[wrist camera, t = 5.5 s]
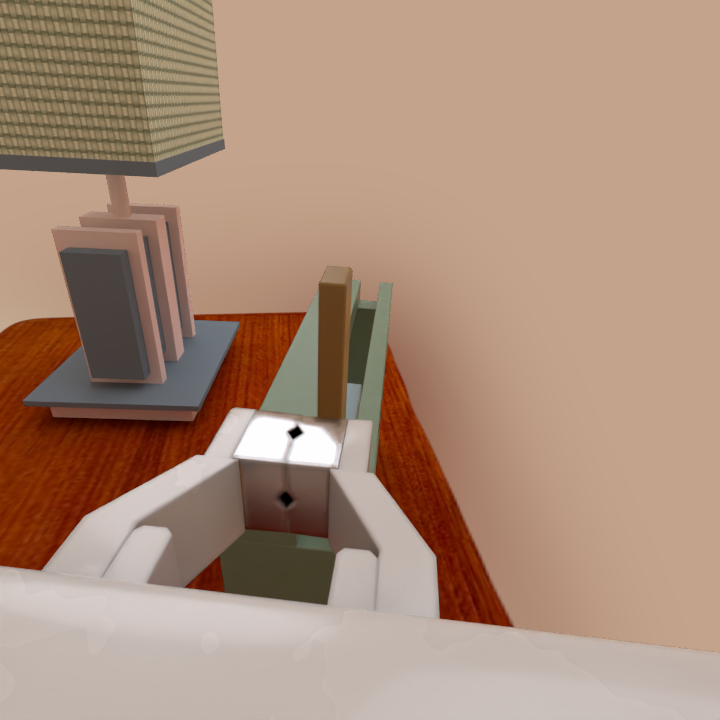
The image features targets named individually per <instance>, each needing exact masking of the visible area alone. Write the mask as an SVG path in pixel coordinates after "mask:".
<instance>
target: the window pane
mask: <svg viewBox="0 0 720 720" xmlns="http://www.w3.org/2000/svg"><path fill="white" fill-rule="evenodd" d="M352 272H353V271H352V268H350V267H339V266H328V267H327V269H326V270H325V272H324V275H323V276H322V279H321V281H320V282H319V296H318V394H317V417H325V418H336V419H347V420H349V419H358V413H359V407H360V401H361V393H362V385H361V384H351V383H347V380H348V359H349V337H350V315H351V294H352Z"/></svg>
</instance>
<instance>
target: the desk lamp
mask: <svg viewBox="0 0 720 720" xmlns="http://www.w3.org/2000/svg"><path fill="white" fill-rule="evenodd" d="M223 149H225V145H224V139H223V131H222V118H221V107H220V94H219V82H218V69H217V57H216V44H215V32H214V21H213V7H212V0H0V169H9V170H10V169H11V170H30V171H48V172H67V173H87V174H106V179H107V184H108V189H109V194H110V198H111V203H109V204H107V207H108V212H89V213H87V214H84V215H82V216H80V217H79V220H80V224H81V227H69V226H58V227H56V228H53V229H51V230H52V234H53V237H54V241H55V245H56V249H57V252H58V256H59V260H60V264H61V267H62V271H63V275H64V279H65V283H66V287H67V290H68V294H69V298H70V302H71V306H72V309H73V313H74V317H75V321H76V325H77V328H78V332H79V336H80V340H81V343H82V346H81V347H80V348H79V349H78V350H77V351H75V352H74V353H73V354H72V355H71V356H70V357H69V358H68V359H67V360H66V361H65V362H64V363H63V364H62V365H60V366H59V367H58V368H57V369H56V370H55V371H54V372H53V373H52V374H51V375H50V376H49V377H48V378H47V379H45V380H44V381H43V382H42V383H41V384H40V385H39V386H38V387H37V388H36V389H35V390H34V391H33V392H32V393H30V394H29V395H28V396H27V397H26V398H25V399H24V400H23V404H24V406H38V407H50V409H51V412H52V415H53V417H69V418H102V419H136V420H169V421H194V418H195V416H196V414H197V412H198V411H200V409H201V407H202V404H203V402H204V400H205V398H206V396H207V394H208V392H209V390H210V388H211V386H212V383H213V381H214V379H215V377H216V375H217V373H218V371H219V369H220V367H221V365H222V362H223V360H224V358H225V356H226V354H227V352H228V350H229V348H230V346H231V344H232V341H233V339H234V337H235V335H236V333H237V331H238V329H239V327H240V322H227V321H202V320H194V317H193V310H192V302H191V294H190V287H189V279H188V272H187V263H186V256H185V249H184V241H183V234H182V225H181V218H180V210H179V206H175V205H154V204H134V203H129V200H128V194H127V188H126V182H125V177H124V175H126V176H145V177H159V176H161V175H164V174H166V173H168V172H171V171H173V170H176V169H178V168H180V167H183V166H185V165H187V164H190V163H192V162H194V161H197V160H199V159H202V158H204V157H206V156H209V155H211V154H213V153H216V152H218V151H220V150H223Z"/></svg>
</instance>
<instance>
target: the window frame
mask: <svg viewBox="0 0 720 720" xmlns="http://www.w3.org/2000/svg"><path fill="white" fill-rule="evenodd" d="M360 285H361V281H359V280H352V294H351V315H350V337H349V359H348V380H347V383H351V384H361V385H362V393H361V401H360V407H359V413H358V420H372V422H373V427H372V439H371V452H370V464H369V473H374V474H375V472H376V462H377V451H378V440H379V430H380V419H381V407H382V396H383V385H384V374H385V363H386V352H387V341H388V330H389V317H390V308H391V297H392V286H393V284H392V283H384V282H380V287H379V293H378V299H377V302H376V301H364V300H360ZM318 296H319V289H318V291H317V293H316V295H315V297H314V299H313V301H312V303H311V305H310V307H309V309H308V311H307V313H306V315H305V317H304V319H303V321H302V324H301V326H300V328H299V330H298V332H297V334H296V336H295V338H294V340H293V342H292V344H291V346H290V348H289V350H288V352H287V354H286V356H285V358H284V360H283V362H282V364H281V367H280V369H279V371H278V373H277V375H276V377H275V379H274V381H273V383H272V385H271V387H270V389H269V391H268V393H267V395H266V397H265V399H264V401H263V403H262V405H261V408H260V410H264V411H273V412H281V413H290V414H298V415H303V416H314V417H317V394H318ZM220 560H221V568H222V575H223V582H224V590H225V593H231V594H239V595H248V596H256V597H264V598H273V599H281V600H289V601H298V602H306V603H314V604H322V605H327V604H328V598H329V593H330V587H331V582H332V576H333V571H334V565H335V560H336V557H335V555H334V552H333V550H332V548H331V546H330V543H329V541H328V538H321V537H314V536H306V535H299V534H292V533H284V532H272V531H260V530H248V529H245V533H243V534H242V535H241V536H240V537H239V538H238V539H237V540H236V541H235V542H234V543H232V544H231V545H230V546H229V547H228V548H227V549H226V550H225V551H224V552H223V553H222V554H220Z"/></svg>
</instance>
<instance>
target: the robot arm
mask: <svg viewBox="0 0 720 720" xmlns="http://www.w3.org/2000/svg"><path fill="white" fill-rule="evenodd" d="M372 427H373V422H372V420H358V419H349V420H347V419H336V418H325V417H314V416H303V415H298V414H290V413H281V412H273V411H264V410H255V409H246V408H236V407H235V408H233V409H231V410H230V411H229V413H228V415H227V417H226V418H225V420H224V422H223V423H222V425H221V427H220V428H219V430H218V432H217V434H216V435H215V437H214V439H213V440H212V442H211V444H210V446H209V447H208V449H207V451H206V452H205V454H204V455H196V456H194V457H192V458H190V459H188V460H186V461H185V462H183V463H181V464H179V465H177V466H175V467H174V468H172V469H170V470H168V471H166V472H164V473H163V474H161V475H159V476H157V477H155V478H153V479H152V480H150V481H148V482H146V483H144V484H142V485H141V486H139V487H137V488H135V489H133V490H131V491H130V492H128V493H126V494H124V495H122V496H120V497H119V498H117V499H115V500H113V501H111V502H109V503H108V504H106V505H104V506H102V507H100V508H99V509H97V510H95V511H93V512H91V513H89V514H88V515H86V516H84V517H83V519H82V520H81V521H80V522H79V524H78V525H77V526H76V527H75V529H74V530H73V531H72V533H71V534H70V535H69V536H68V538H67V539H66V540H65V541H64V543H63V544H62V545H61V547H60V548H59V549H58V550H57V552H56V553H55V554H54V555H53V557H52V558H51V559H50V560H49V562H48V563H47V564H46V566H45V567H44V568H43V569H42V571H39V570H31V569H22V568H14V567H6V566H0V720H720V652H713V651H705V650H697V649H687V648H680V647H671V646H663V645H655V644H647V643H638V642H630V641H622V640H613V639H605V638H597V637H588V636H580V635H572V634H563V633H555V632H547V631H538V630H529V629H522V628H513V627H505V626H497V625H488V624H480V623H471V622H463V621H455V620H446V619H440V616H439V598H438V580H437V563H436V556H435V554H434V553H433V552H432V550H431V549H430V548H429V546H428V545H427V544H426V542H425V541H424V540H423V538H422V537H421V536H420V534H419V533H418V532H417V530H416V529H415V528H414V526H413V525H412V524H411V522H410V521H409V520H408V518H407V517H406V516H405V514H404V513H403V511H402V510H401V509H400V507H399V506H398V505H397V503H396V502H395V501H394V499H393V498H392V497H391V495H390V494H389V493H388V491H387V490H386V489H385V487H384V486H383V485H382V483H381V482H380V481H379V479H378V478H377V477H376V475H375V474H374V473H369V464H370V452H371V439H372ZM245 529H248V530H260V531H272V532H284V533H292V534H299V535H306V536H314V537H321V538H328V541H329V543H330V546H331V548H332V550H333V552H334V555H335V557H336V560H335V565H334V571H333V576H332V582H331V587H330V593H329V598H328V604H327V605H322V604H314V603H306V602H298V601H289V600H281V599H273V598H264V597H256V596H248V595H239V594H231V593H223V592H214V591H206V590H198V589H189V588H184V587H185V586H186V585H188V584H189V583H190V582H191V581H192V580H193V579H194V578H195V577H196V576H197V575H199V574H200V573H201V572H202V571H203V570H204V569H205V568H206V567H207V566H208V565H209V564H211V563H212V562H213V561H214V560H215V559H216V558H217V557H218V556H219V555H220V554H222V553H223V552H224V551H225V550H226V549H227V548H228V547H229V546H230V545H231V544H232V543H234V542H235V541H236V540H237V539H238V538H239V537H240V536H241V535H242V534H243V533H245Z"/></svg>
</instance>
